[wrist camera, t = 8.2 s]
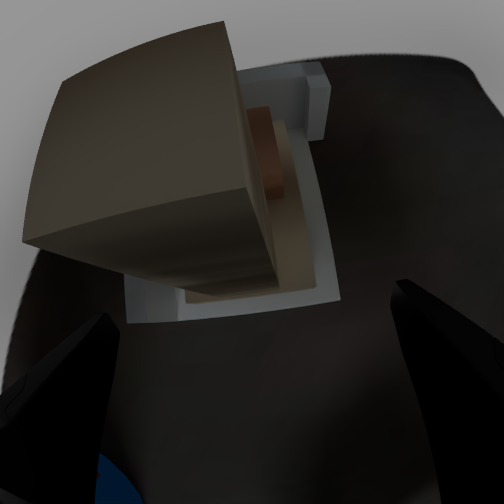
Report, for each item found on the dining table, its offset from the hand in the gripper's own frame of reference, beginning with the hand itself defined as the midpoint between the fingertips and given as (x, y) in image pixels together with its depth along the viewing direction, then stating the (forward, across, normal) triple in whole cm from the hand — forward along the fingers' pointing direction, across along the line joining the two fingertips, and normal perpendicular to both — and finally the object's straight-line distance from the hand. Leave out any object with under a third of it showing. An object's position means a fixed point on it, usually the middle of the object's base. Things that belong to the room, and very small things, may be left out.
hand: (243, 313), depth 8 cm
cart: (+9, 0, +1) cm, 9 cm away
